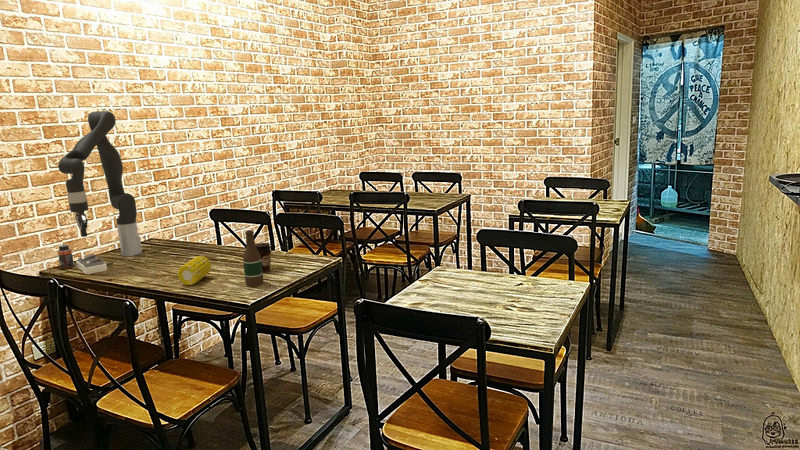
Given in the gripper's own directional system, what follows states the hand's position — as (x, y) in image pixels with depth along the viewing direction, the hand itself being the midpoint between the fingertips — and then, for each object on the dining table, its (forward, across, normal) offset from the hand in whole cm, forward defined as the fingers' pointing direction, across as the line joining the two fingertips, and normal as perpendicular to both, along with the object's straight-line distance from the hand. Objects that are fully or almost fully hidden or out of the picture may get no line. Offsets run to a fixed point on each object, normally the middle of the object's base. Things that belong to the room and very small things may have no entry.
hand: (84, 236), depth 254 cm
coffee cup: (+18, -66, -57) cm, 89 cm away
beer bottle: (+18, -79, -44) cm, 93 cm away
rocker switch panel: (+17, +3, -4) cm, 18 cm away
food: (+18, -55, -29) cm, 65 cm away
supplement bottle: (+17, +15, +6) cm, 24 cm away
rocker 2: (+13, -1, -1) cm, 13 cm away
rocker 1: (+13, +8, -1) cm, 15 cm away
